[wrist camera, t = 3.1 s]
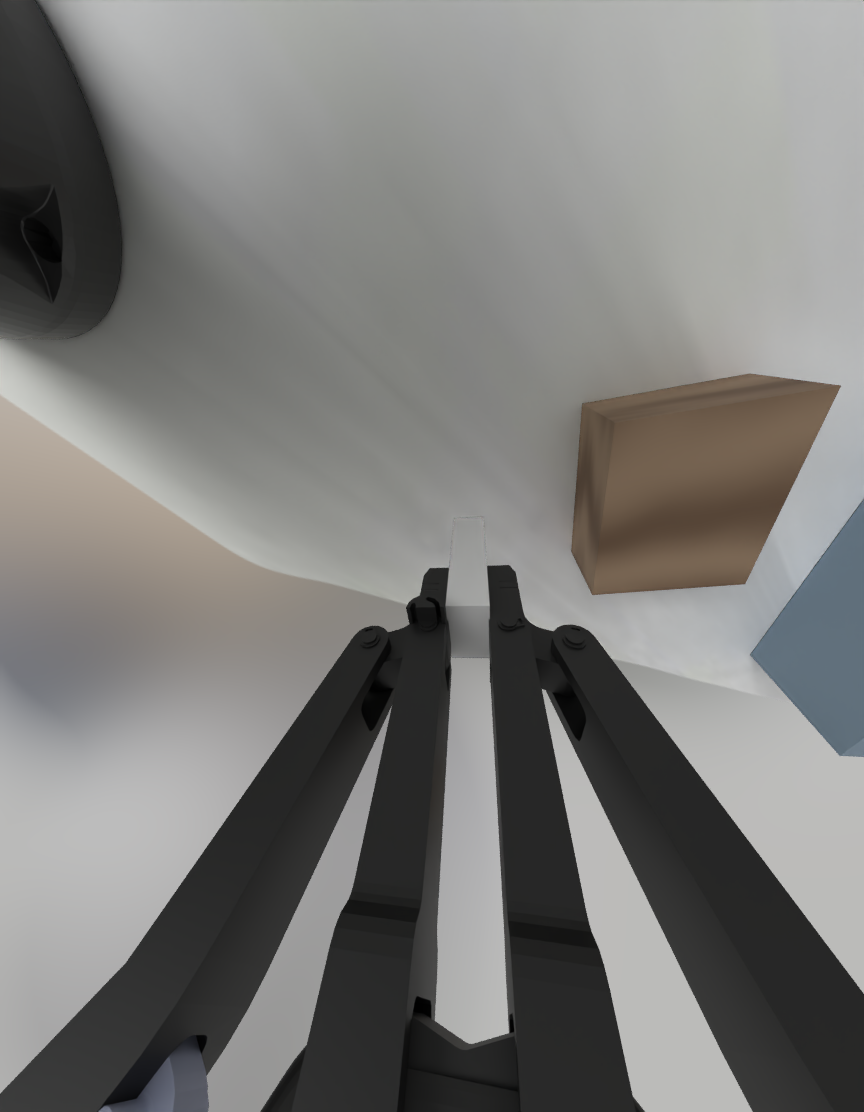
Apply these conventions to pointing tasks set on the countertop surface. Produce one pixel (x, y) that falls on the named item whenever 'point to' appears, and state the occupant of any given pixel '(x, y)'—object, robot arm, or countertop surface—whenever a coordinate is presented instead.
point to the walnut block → (689, 479)
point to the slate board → (825, 643)
